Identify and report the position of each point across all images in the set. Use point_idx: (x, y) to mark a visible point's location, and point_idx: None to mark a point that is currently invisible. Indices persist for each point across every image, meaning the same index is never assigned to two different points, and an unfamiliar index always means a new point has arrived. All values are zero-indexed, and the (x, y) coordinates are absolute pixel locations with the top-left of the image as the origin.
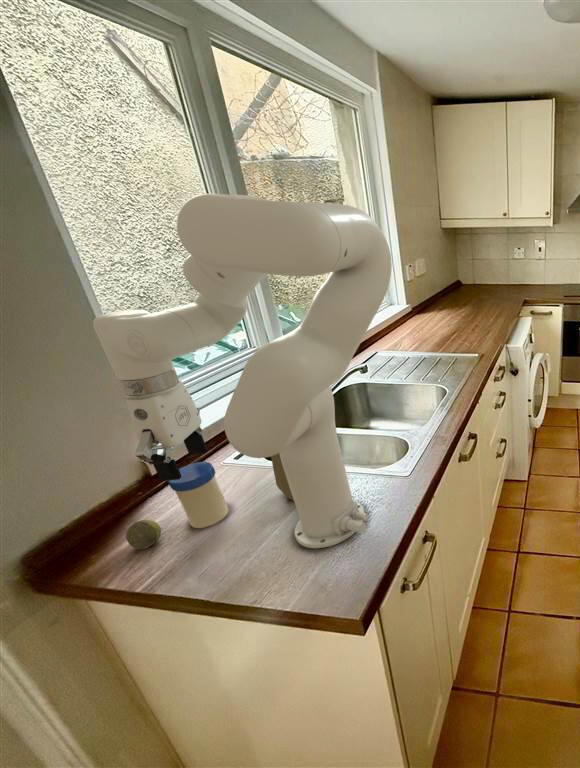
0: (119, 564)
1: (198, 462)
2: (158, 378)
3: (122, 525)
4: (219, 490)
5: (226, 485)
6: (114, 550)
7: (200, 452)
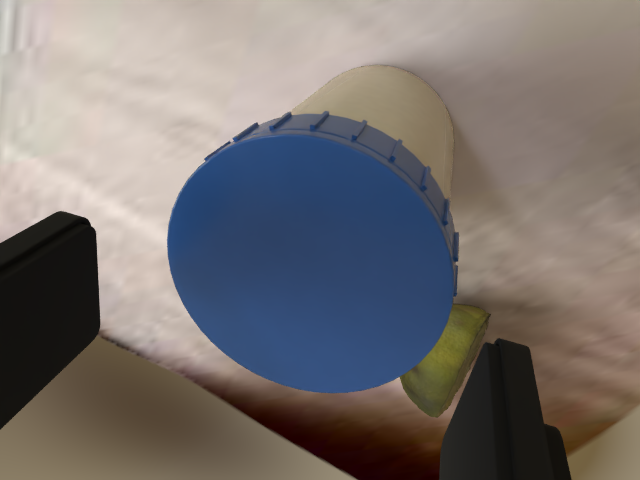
0: None
1: (168, 251)
2: None
3: (292, 408)
4: (345, 93)
5: (143, 124)
6: None
7: (93, 259)
